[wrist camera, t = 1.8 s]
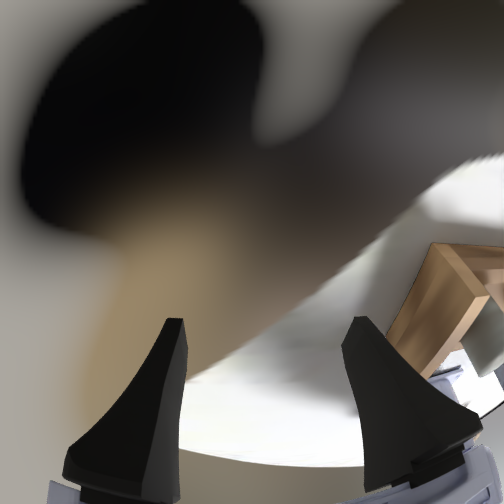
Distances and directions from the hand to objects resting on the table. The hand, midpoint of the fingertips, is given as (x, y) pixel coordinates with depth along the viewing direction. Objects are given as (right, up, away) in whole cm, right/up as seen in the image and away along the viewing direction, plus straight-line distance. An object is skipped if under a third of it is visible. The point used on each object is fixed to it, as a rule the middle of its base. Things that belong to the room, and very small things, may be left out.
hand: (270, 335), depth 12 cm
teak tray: (+16, +1, +3) cm, 16 cm away
